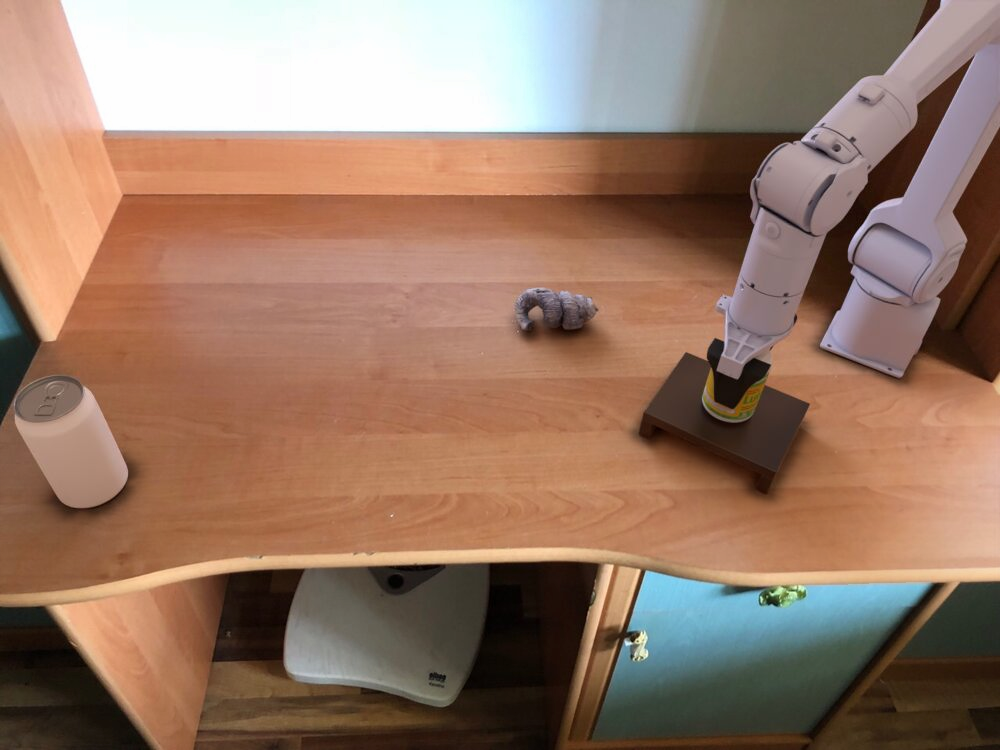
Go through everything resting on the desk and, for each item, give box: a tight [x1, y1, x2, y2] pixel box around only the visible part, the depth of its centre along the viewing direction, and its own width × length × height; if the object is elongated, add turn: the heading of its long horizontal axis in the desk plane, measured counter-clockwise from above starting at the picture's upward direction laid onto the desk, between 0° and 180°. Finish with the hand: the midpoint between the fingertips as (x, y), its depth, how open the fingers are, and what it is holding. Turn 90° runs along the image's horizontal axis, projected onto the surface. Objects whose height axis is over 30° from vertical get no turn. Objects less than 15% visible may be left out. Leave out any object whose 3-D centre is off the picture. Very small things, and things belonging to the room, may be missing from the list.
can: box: [12, 374, 129, 509], centre depth 72 cm, size 6×6×12 cm
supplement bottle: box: [702, 348, 774, 423], centre depth 78 cm, size 5×5×10 cm
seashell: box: [514, 286, 600, 331], centre depth 94 cm, size 5×5×10 cm
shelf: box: [638, 351, 811, 495], centre depth 83 cm, size 14×11×4 cm
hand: (735, 385), depth 80 cm, fingers closed on supplement bottle, 5 cm apart
